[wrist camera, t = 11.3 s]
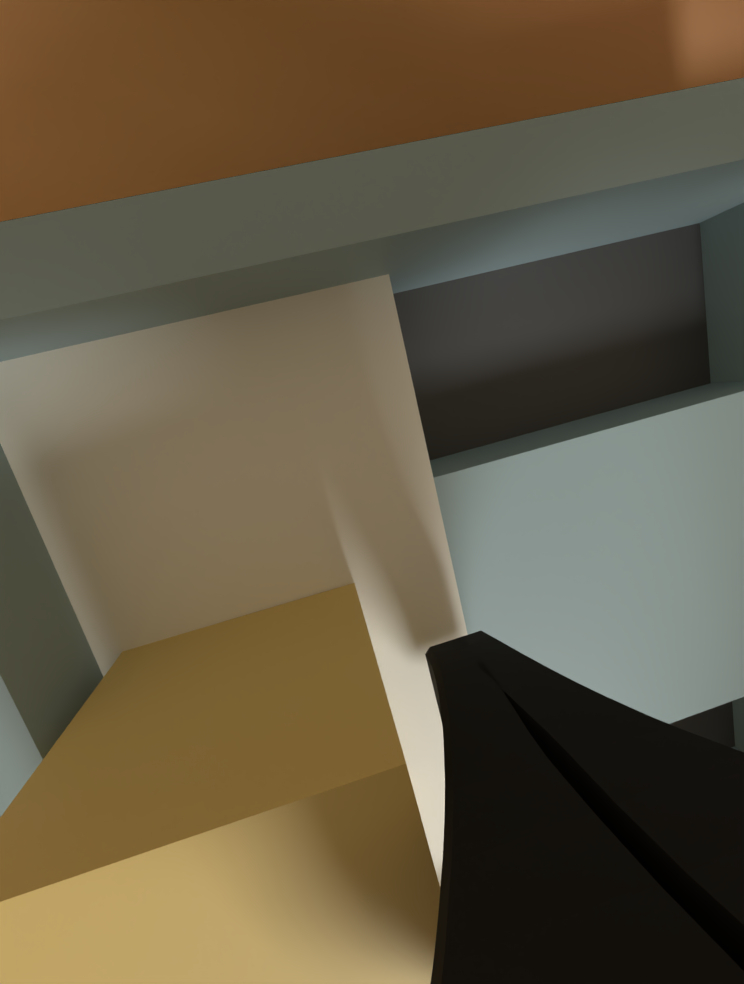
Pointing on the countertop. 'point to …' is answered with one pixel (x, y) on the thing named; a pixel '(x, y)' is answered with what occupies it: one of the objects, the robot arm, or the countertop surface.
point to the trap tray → (392, 416)
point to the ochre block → (225, 818)
